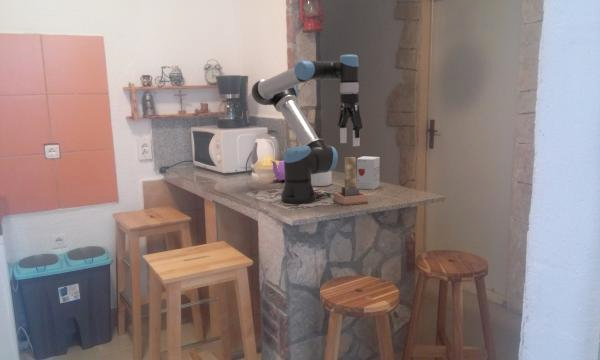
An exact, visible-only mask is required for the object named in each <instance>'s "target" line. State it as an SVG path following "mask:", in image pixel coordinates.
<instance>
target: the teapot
mask: <svg viewBox="0 0 600 360" xmlns="http://www.w3.org/2000/svg"><path fill="white" fill-rule="evenodd" d="M270 162H271V163H272V171H273V175H274V174H275V176H274V177H275V178H276V179H277V182H282V181H285V170H284V160H279V161H278V163H279V166H278V168H277V163H276V161H274V160H270Z"/></svg>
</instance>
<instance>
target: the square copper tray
mask: <svg viewBox="0 0 600 360" xmlns="http://www.w3.org/2000/svg"><path fill="white" fill-rule="evenodd" d="M346 194H347V197H345V186H341V191H334V192H333V201H334V202H336V203H338V204H340V205H341V206H354V205H364V204H368V202H369V201H368V200H369V199H368V198H369V197H368V194H366V193H364V192H361V191H360V189H359V188H357V187H356V189H346Z"/></svg>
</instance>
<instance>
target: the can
mask: <svg viewBox="0 0 600 360" xmlns="http://www.w3.org/2000/svg"><path fill="white" fill-rule="evenodd" d="M332 179H333V178H332V171H328V172H326V173H324V172H323V173H317V174H311V183H312V186H313V187H326V186H330V185H332Z"/></svg>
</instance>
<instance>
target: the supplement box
mask: <svg viewBox="0 0 600 360" xmlns="http://www.w3.org/2000/svg"><path fill="white" fill-rule="evenodd" d="M380 159H381V157H380V156H367V155H366V156H364V155H363V156H360V157H358V158H356V188H359V190H360V189H362V190H373V191H374V190H376V189H378V188H380V173H381V172H380V171H381V170H380V166H381V165H380V164H381V163H380V161H381V160H380Z"/></svg>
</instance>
